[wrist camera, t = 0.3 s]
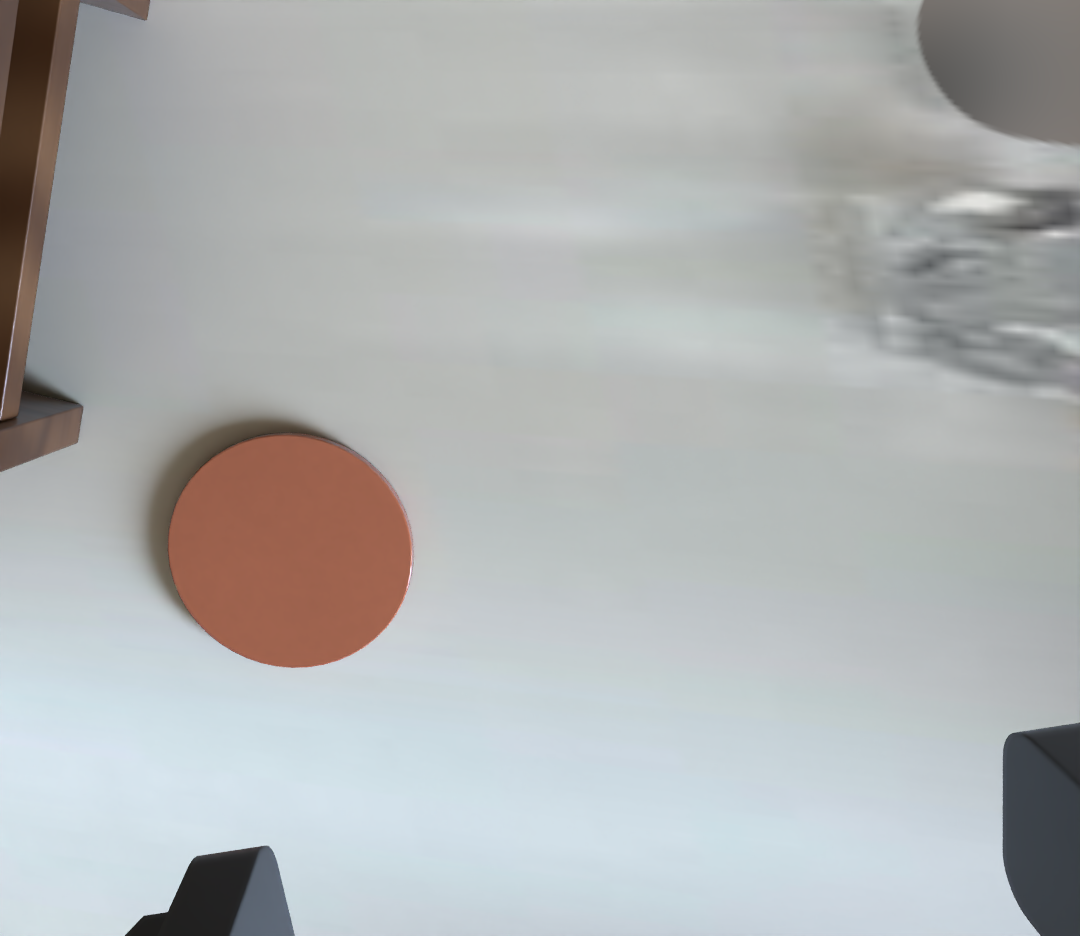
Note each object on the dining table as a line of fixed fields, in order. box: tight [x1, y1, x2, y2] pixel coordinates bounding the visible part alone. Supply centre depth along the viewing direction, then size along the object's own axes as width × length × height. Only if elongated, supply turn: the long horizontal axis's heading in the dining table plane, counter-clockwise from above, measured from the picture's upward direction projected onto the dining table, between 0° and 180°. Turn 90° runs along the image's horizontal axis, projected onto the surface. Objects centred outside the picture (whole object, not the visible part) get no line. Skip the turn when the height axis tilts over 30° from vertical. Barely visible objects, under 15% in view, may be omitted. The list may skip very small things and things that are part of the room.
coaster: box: [168, 433, 414, 668], centre depth 38 cm, size 10×10×1 cm
